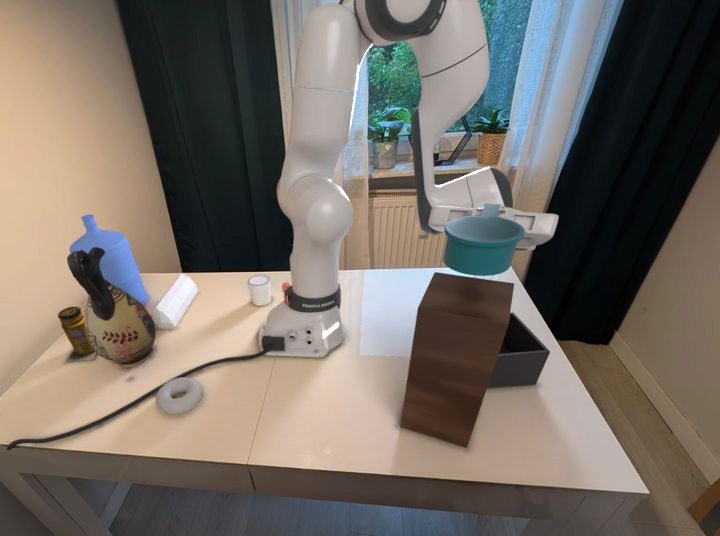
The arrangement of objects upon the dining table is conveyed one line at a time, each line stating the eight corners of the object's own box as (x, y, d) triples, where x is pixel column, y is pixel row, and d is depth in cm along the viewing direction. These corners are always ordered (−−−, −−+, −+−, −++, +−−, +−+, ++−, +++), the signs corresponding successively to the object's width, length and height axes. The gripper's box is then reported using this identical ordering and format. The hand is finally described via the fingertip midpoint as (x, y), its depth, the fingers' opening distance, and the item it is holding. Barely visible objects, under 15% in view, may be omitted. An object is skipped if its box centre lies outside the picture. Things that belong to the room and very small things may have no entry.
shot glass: (274, 294, 116) (271, 274, 112) (271, 306, 111) (268, 285, 107) (252, 295, 117) (249, 274, 113) (248, 306, 112) (245, 286, 108)
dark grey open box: (466, 390, 78) (476, 357, 73) (442, 348, 90) (449, 317, 84) (535, 384, 78) (550, 351, 73) (502, 343, 89) (513, 312, 84)
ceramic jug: (112, 341, 103) (62, 236, 85) (168, 335, 104) (130, 228, 85) (91, 384, 90) (26, 269, 72) (155, 376, 90) (107, 260, 72)
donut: (148, 408, 82) (181, 424, 78) (143, 397, 80) (176, 412, 75) (181, 380, 89) (213, 393, 84) (177, 369, 86) (209, 382, 82)
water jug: (156, 291, 124) (126, 205, 107) (137, 318, 112) (100, 225, 95) (111, 293, 126) (75, 208, 109) (88, 319, 114) (43, 228, 97)
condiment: (105, 340, 104) (87, 303, 97) (93, 359, 98) (73, 321, 90) (79, 342, 104) (59, 305, 97) (66, 362, 98) (43, 324, 90)
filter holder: (457, 221, 68) (462, 192, 64) (520, 226, 63) (529, 195, 60) (433, 271, 54) (438, 237, 51) (511, 282, 50) (523, 246, 47)
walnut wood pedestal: (414, 386, 80) (434, 271, 64) (475, 403, 76) (514, 283, 59) (399, 427, 72) (417, 307, 56) (466, 448, 67) (508, 323, 51)
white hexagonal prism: (175, 321, 101) (203, 279, 120) (149, 310, 100) (181, 269, 119) (169, 340, 106) (196, 296, 124) (144, 330, 105) (176, 287, 123)
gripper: (436, 207, 77) (428, 189, 65) (553, 216, 69) (569, 197, 56) (429, 239, 78) (419, 227, 66) (543, 251, 70) (556, 240, 58)
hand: (489, 214), depth 61 cm, fingers closed on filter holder, 2 cm apart
